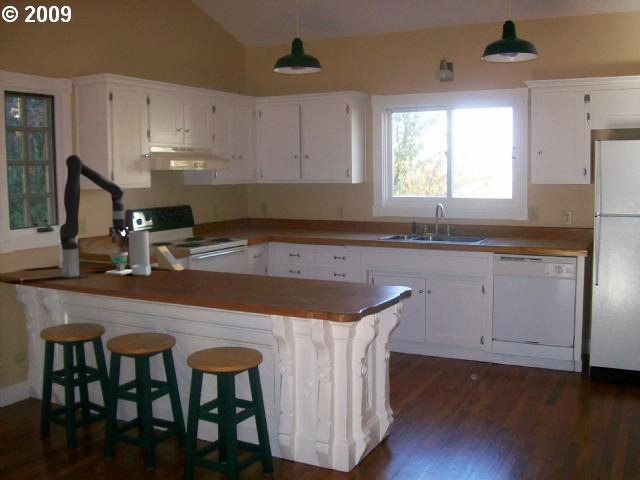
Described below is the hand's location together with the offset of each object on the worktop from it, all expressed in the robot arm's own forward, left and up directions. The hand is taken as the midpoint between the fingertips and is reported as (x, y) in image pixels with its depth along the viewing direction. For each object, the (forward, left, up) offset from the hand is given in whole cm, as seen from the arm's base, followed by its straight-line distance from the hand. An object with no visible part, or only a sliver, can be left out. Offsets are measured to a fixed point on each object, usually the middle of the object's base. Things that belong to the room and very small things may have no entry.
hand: (119, 243), depth 436 cm
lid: (-2, -2, -18) cm, 19 cm away
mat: (-2, -2, -19) cm, 19 cm away
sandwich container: (+24, -22, -19) cm, 37 cm away
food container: (+18, +18, -19) cm, 32 cm away
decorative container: (+5, +52, -19) cm, 56 cm away
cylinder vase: (+17, -1, -19) cm, 26 cm away
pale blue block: (-1, -18, -19) cm, 26 cm away
